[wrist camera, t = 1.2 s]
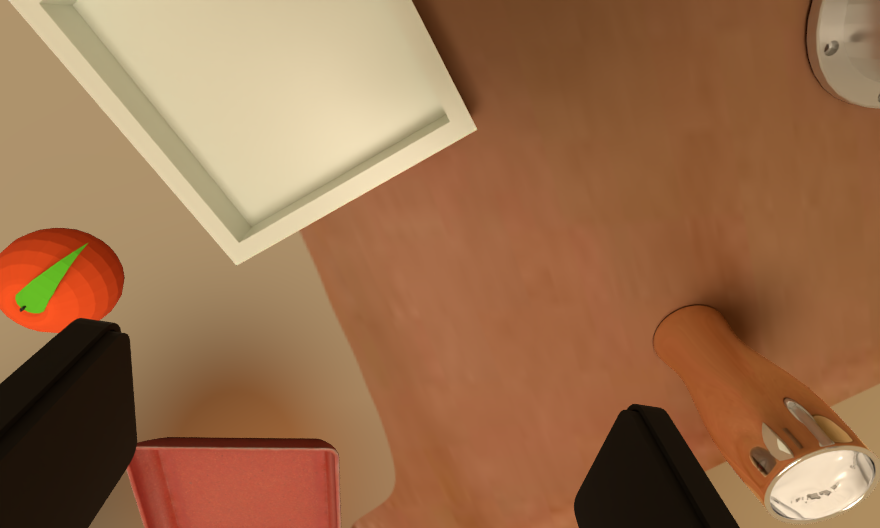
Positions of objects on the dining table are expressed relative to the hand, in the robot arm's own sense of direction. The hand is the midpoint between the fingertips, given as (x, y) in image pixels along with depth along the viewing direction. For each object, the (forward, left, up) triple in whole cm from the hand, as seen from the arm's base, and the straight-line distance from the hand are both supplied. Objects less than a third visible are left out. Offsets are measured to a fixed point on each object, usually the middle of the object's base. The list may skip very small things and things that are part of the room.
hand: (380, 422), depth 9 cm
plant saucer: (+31, +22, -26) cm, 46 cm away
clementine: (+24, -4, -26) cm, 35 cm away
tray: (+5, -8, -26) cm, 27 cm away
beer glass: (-12, +26, -26) cm, 39 cm away
